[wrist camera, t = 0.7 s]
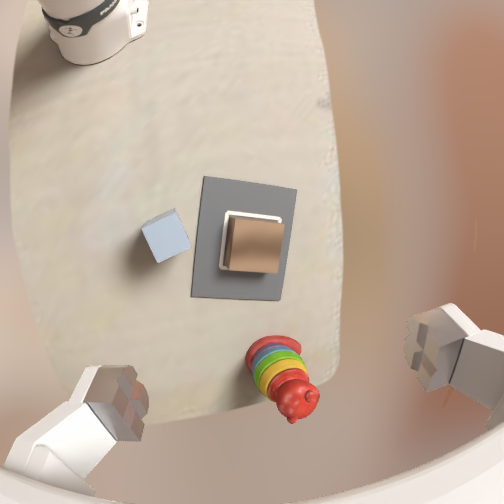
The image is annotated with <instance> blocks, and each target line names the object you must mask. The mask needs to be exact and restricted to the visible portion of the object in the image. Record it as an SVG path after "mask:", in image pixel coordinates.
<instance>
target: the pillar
mask: <svg viewBox="0 0 504 504" xmlns="http://www.w3.org/2000/svg"><path fill="white" fill-rule="evenodd" d="M142 231H143V234H144V236H145V238H146V240H147V242H148V244H149V246H150V249H151V251H152V253H153V255H154V257H155V259H156V261H157V263H159V262H162V261H164V260H166V259H168V258H170V257H172V256H174V255H176V254H179V253H181V252H183V251H185V250H187V249H189V248H191V247H192V246H191V244H190V241H189V239H188V236H187V234H186V232H185V229H184V227H183V225H182V223H181V220H180V218H179V216H178V214H177V211H176V209H175V208H174V209H172V210H170V211H167V212H165V213H163V214H161V215H159V216H157V217H155V218H153V219H150V220H148V221H147V222H146V223H145V225H144V226H143V227H142Z"/></svg>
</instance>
